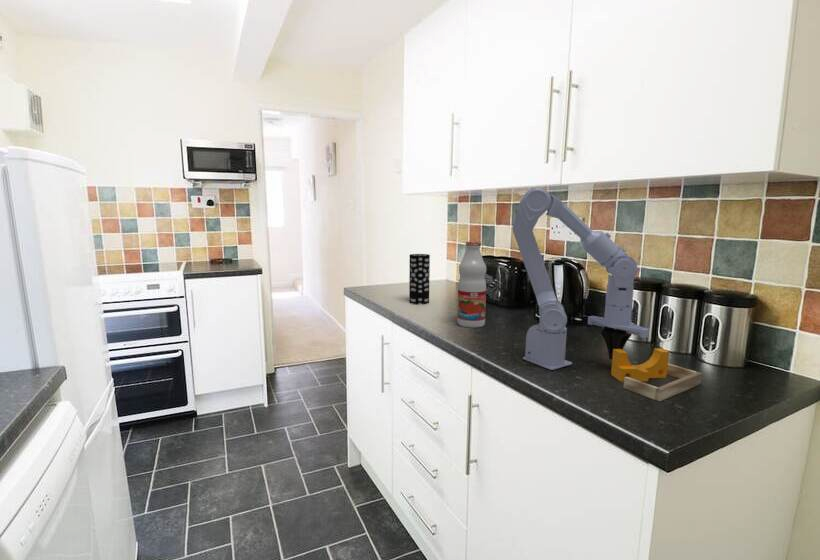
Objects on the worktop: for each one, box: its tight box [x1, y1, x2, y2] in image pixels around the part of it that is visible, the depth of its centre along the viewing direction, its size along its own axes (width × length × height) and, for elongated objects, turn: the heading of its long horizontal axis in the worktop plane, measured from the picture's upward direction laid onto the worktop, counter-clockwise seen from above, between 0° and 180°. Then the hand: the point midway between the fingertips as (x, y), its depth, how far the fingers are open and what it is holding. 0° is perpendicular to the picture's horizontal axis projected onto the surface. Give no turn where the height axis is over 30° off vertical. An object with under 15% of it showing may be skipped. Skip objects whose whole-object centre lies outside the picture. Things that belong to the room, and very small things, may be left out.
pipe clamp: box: [610, 347, 670, 383], centre depth 99 cm, size 12×4×6 cm, turn 94°
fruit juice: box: [456, 241, 487, 328], centre depth 143 cm, size 9×9×28 cm
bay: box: [623, 362, 703, 402], centre depth 95 cm, size 8×17×2 cm, turn 122°
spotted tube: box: [408, 253, 431, 305], centre depth 177 cm, size 8×8×20 cm
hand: (614, 358), depth 104 cm, fingers closed
